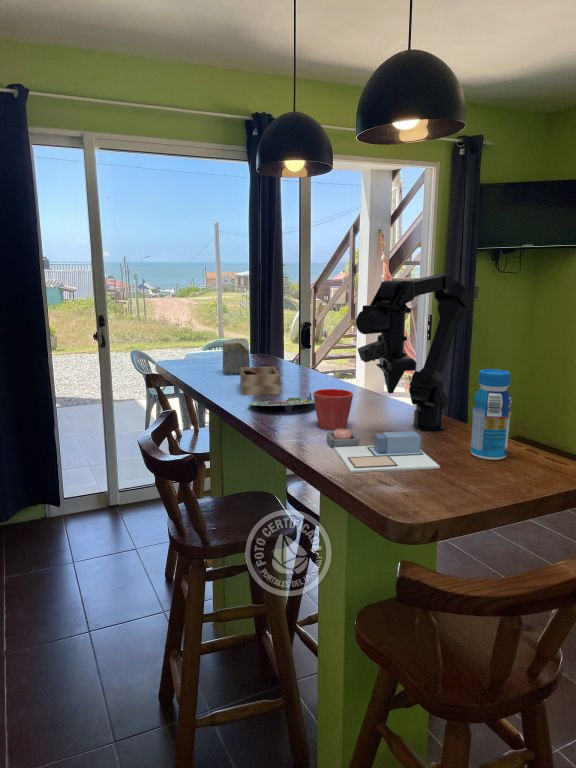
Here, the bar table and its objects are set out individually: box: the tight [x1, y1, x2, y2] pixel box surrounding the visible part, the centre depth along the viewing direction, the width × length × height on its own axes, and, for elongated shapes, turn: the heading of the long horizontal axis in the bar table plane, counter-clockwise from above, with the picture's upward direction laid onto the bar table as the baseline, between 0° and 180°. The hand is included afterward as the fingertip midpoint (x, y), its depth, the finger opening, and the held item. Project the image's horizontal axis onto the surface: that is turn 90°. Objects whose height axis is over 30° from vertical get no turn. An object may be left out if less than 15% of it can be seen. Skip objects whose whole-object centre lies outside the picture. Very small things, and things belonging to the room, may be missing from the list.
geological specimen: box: [222, 337, 251, 376], centre depth 228 cm, size 11×6×15 cm, turn 105°
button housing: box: [326, 431, 360, 449], centre depth 135 cm, size 7×7×2 cm
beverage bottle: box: [469, 368, 513, 461], centre depth 125 cm, size 8×8×20 cm
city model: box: [248, 392, 315, 412], centre depth 173 cm, size 25×23×6 cm
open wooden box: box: [239, 366, 281, 396], centre depth 198 cm, size 13×17×7 cm
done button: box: [333, 428, 353, 439], centre depth 135 cm, size 4×4×3 cm
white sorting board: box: [333, 445, 441, 474], centre depth 125 cm, size 20×16×1 cm
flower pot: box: [313, 388, 354, 431], centre depth 150 cm, size 11×11×10 cm
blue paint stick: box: [373, 430, 422, 454], centre depth 128 cm, size 10×4×4 cm, turn 98°
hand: (390, 392), depth 138 cm, fingers closed
